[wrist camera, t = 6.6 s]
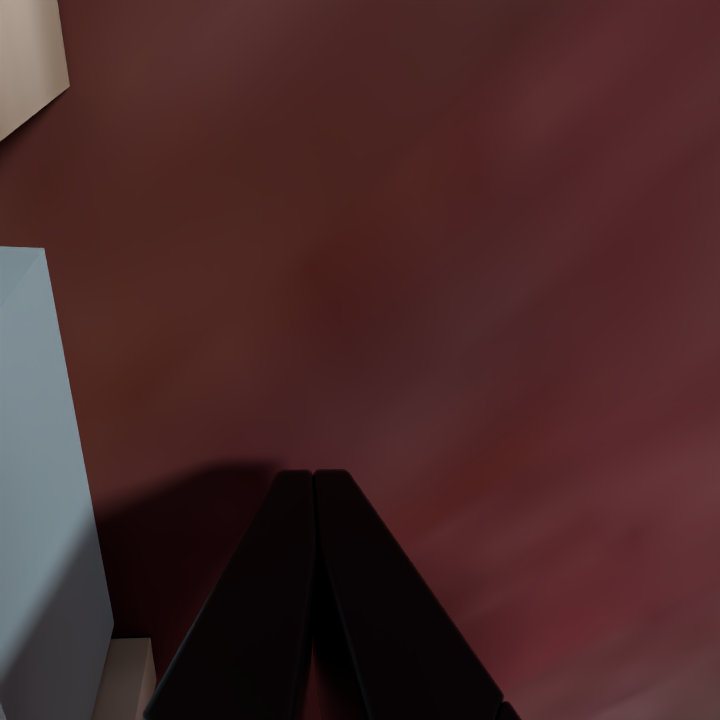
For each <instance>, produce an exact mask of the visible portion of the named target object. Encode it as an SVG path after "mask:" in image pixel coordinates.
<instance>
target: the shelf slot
mask: <svg viewBox="0 0 720 720" xmlns="http://www.w3.org/2000/svg"><path fill="white" fill-rule="evenodd" d="M68 87H70V85H69V78H68V71H67V64H66V58H65V51H64V44H63V37H62V30H61V23H60V16H59V10H58V3H57V0H0V141H1V140H3V139H4V138H5V137H6V136H8V135H9V134H10V133H11V132H13V131H14V130H15V129H16V128H18V127H19V126H20V125H22V124H23V123H24V122H25V121H27V120H28V119H29V118H30V117H32V116H33V115H34V114H35V113H37V112H38V111H39V110H40V109H42V108H43V107H44V106H46V105H47V104H48V103H49V102H51V101H52V100H53V99H54V98H56V97H57V96H58V95H59V94H61V93H62V92H63V91H64V90H66V89H67V88H68ZM155 685H156V673H155V666H154V660H153V653H152V646H151V639H150V638H127V639H110V643H109V647H108V651H107V655H106V660H105V664H104V668H103V672H102V676H101V680H100V685H99V689H98V693H97V697H96V701H95V705H94V710H93V714H92V718H91V720H143V716H142V714H143V711H144V710H145V708H146V706H147V704H148V702H149V701H150V699H151V697H152V695H153V693H154V691H155Z"/></svg>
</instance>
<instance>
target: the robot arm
mask: <svg viewBox="0 0 720 720" xmlns="http://www.w3.org/2000/svg"><path fill="white" fill-rule="evenodd" d="M312 638H313V656H314V665H315V674H316V682H317V689H318V696H319V703H320V710H321V718H322V720H521V718H520V717H519V715H518V714H517V712H516V711H515V709H514V708H513V707H512V705H511V704H510V703H509V702H508V701H505V702H503V700H504V695H503V693H502V691H501V690H500V688H499V687H498V686H497V684H496V683H495V681H494V680H493V678H492V677H491V675H490V674H489V673H488V671H487V670H486V668H485V667H484V665H483V664H482V663H481V661H480V660H479V658H478V657H477V655H476V654H475V653H474V651H473V650H472V648H471V647H470V645H469V644H468V642H467V641H466V640H465V638H464V637H463V635H462V634H461V632H460V631H459V630H458V628H457V627H456V625H455V624H454V622H453V621H452V619H451V618H450V617H449V615H448V614H447V612H446V611H445V609H444V608H443V607H442V605H441V604H440V602H439V601H438V599H437V598H436V597H435V595H434V594H433V592H432V591H431V589H430V588H429V586H428V585H427V584H426V582H425V581H424V579H423V578H422V576H421V575H420V574H419V572H418V571H417V569H416V568H415V566H414V565H413V563H412V562H411V561H410V559H409V558H408V556H407V555H406V553H405V552H404V551H403V549H402V548H401V546H400V545H399V543H398V542H397V541H396V539H395V538H394V536H393V535H392V533H391V532H390V530H389V529H388V528H387V526H386V525H385V523H384V522H383V520H382V519H381V518H380V516H379V515H378V513H377V512H376V510H375V509H374V507H373V506H372V505H371V503H370V502H369V500H368V499H367V497H366V496H365V495H364V493H363V492H362V490H361V489H360V487H359V486H358V485H357V483H356V482H355V480H354V479H353V477H352V476H351V475H350V473H349V472H348V471H346V470H344V469H319V470H316V471H315V472H314V474H313V475H312V473H311V471H309V470H281V471H279V472H278V473H277V474H276V475H275V477H274V479H273V480H272V482H271V484H270V486H269V487H268V489H267V491H266V493H265V495H264V496H263V498H262V500H261V502H260V504H259V505H258V507H257V509H256V511H255V513H254V514H253V516H252V518H251V520H250V522H249V523H248V525H247V527H246V529H245V530H244V532H243V534H242V536H241V538H240V539H239V541H238V543H237V545H236V547H235V548H234V550H233V552H232V554H231V556H230V557H229V559H228V561H227V563H226V565H225V566H224V568H223V570H222V572H221V573H220V575H219V577H218V579H217V581H216V582H215V584H214V586H213V588H212V590H211V591H210V593H209V595H208V597H207V599H206V600H205V602H204V604H203V606H202V607H201V609H200V611H199V613H198V615H197V616H196V618H195V620H194V622H193V624H192V625H191V627H190V629H189V631H188V633H187V634H186V636H185V638H184V640H183V642H182V643H181V645H180V647H179V649H178V650H177V652H176V654H175V656H174V658H173V659H172V661H171V663H170V665H169V667H168V668H167V670H166V672H165V674H164V676H163V677H162V679H161V681H160V683H159V684H158V686H157V688H156V690H155V692H154V693H153V695H152V697H151V699H150V701H149V702H148V704H147V706H146V708H145V710H144V711H143V714H142V716H143V720H305V718H306V709H307V699H308V689H309V680H310V668H311V655H312ZM502 702H503V703H502Z"/></svg>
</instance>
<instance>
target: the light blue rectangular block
mask: <svg viewBox="0 0 720 720" xmlns="http://www.w3.org/2000/svg"><path fill="white" fill-rule="evenodd" d="M113 626H114V620H113V615H112V609H111V604H110V599H109V593H108V588H107V583H106V577H105V572H104V566H103V561H102V556H101V550H100V545H99V540H98V534H97V529H96V524H95V518H94V513H93V508H92V502H91V497H90V492H89V486H88V481H87V475H86V470H85V465H84V459H83V454H82V449H81V443H80V438H79V433H78V427H77V422H76V417H75V411H74V406H73V401H72V395H71V390H70V384H69V379H68V374H67V368H66V363H65V358H64V352H63V347H62V342H61V336H60V331H59V326H58V320H57V315H56V310H55V304H54V299H53V293H52V288H51V283H50V277H49V272H48V267H47V261H46V256H45V251H44V248H26V247H2V246H0V720H91V718H92V714H93V710H94V705H95V701H96V697H97V693H98V689H99V685H100V680H101V676H102V672H103V668H104V664H105V660H106V655H107V651H108V647H109V643H110V639H111V635H112V630H113Z"/></svg>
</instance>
